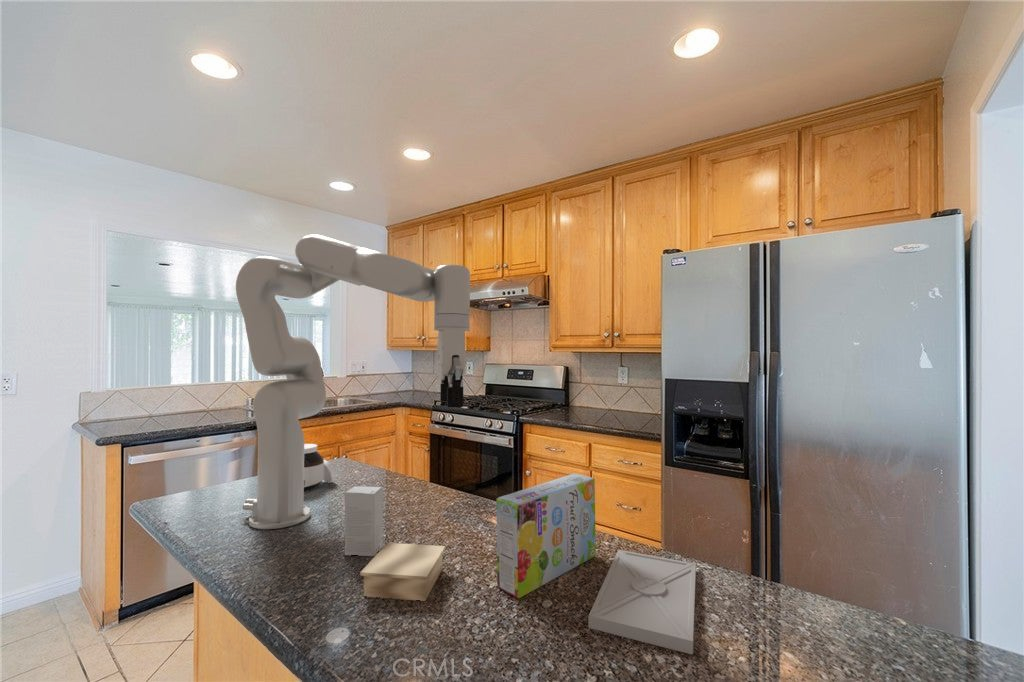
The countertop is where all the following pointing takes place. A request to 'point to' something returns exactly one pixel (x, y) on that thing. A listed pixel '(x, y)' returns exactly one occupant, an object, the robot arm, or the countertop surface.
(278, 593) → the countertop surface
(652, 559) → the envelope
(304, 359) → the robot arm
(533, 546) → the snack box
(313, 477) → the spread jar
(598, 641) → the countertop surface
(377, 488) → the skincare box
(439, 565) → the pedestal
